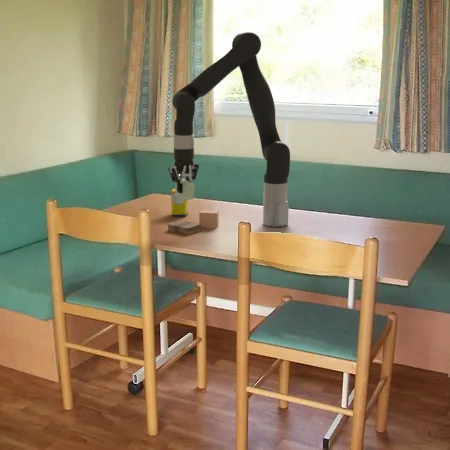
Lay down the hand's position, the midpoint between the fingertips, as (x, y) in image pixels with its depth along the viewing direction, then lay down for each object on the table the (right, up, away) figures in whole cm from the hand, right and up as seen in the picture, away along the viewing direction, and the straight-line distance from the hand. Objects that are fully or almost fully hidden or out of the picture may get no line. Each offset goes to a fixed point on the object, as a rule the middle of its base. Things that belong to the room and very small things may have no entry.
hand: (184, 191), depth 241 cm
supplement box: (-4, -8, +28) cm, 29 cm away
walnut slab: (0, -15, +4) cm, 16 cm away
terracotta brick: (+9, -13, +10) cm, 19 cm away
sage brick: (0, -2, +1) cm, 2 cm away
